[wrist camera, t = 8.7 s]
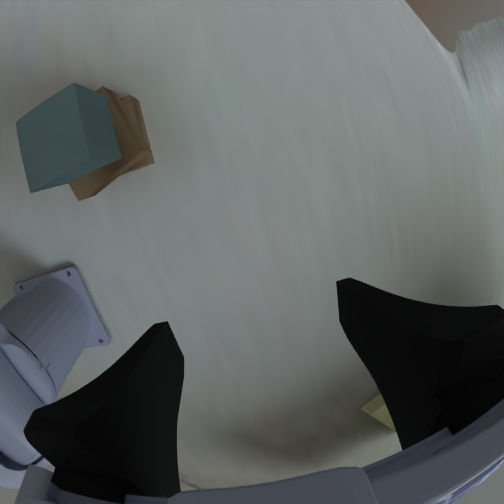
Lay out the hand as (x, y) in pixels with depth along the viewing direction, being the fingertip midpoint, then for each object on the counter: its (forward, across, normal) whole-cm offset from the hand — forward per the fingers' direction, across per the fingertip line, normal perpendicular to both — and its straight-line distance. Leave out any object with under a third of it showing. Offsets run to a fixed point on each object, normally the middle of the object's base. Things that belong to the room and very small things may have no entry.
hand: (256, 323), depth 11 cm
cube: (+6, +7, -10) cm, 14 cm away
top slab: (+8, +7, -10) cm, 15 cm away
